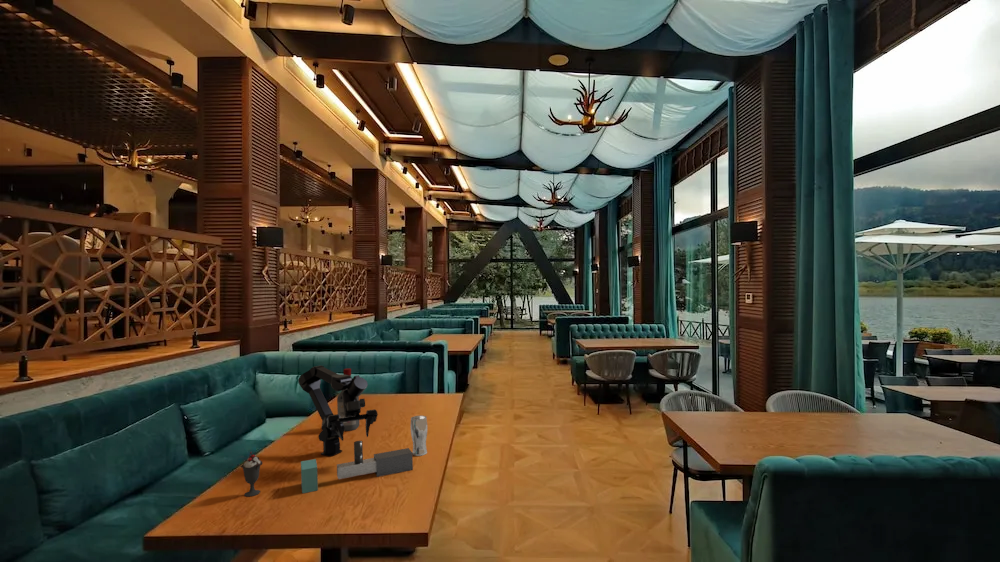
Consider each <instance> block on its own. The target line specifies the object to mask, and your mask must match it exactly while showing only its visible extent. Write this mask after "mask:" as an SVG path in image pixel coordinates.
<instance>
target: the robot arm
mask: <svg viewBox="0 0 1000 562" xmlns="http://www.w3.org/2000/svg"><path fill="white" fill-rule="evenodd" d="M321 380H322V381H324V382H326V383H328V384H330V385H331V386H330V387H331V388H332V390H334V391H335V392H341V391H342V390H345V391H344V392H343V393H342V395H341V397H340V399H343V408H344V415H345V417H340V416H339V415H338V413H337V414H334V413H333V411H332V409H331V407H330V405H329V403H328V401H327V399H326V398H325V396H324V393H323V391H322V389H321V383H322V381H321ZM298 384H299V386H300V388H301V389H302V390H303V391H304V392H305V393H307V394H309V397H310V398H311V401H312V403H313V405H314V407H315V409H316V410H317V414H318V415H319V416H320V418H321V426H320V427H321V431H320V433H319V434H318V440H319V441H320V442H322V444H323V446H322V448H323V449H322V450H323V452H321V453H320V455H322V456H327V457H333V456H336V455H338V454H340V453H342V452H343V449H341V442H340V440H341V441H342V442H343V441H344V433H345V431H344V428H345V427H344V424H343V422H348V421H355V420H359V421H362V420H364V421H365V436H366V438H368V437H369V432H370V428H371V425H373V424H374V423H375V422H377V419H378V415H379V414H378V411H377V410H376V409H368V410H366V412H365V413H363V414H360V413H361V411H362V410H361V409H362V408H365V406H366V400H365V398H359V401H358V400H357V397H358V396H359V397H360V396H361V395H362V393H364V391H365V390H366V389H367V388H368V386H369V385H368V381H367V380H366V379H365V378H363V377H361V376H360V375H358V374H357V375H354V376H353V377H352V375H351V376H349V375H344V373H342V374H339V373H337V372H334V371H333V370H330V369H328V368H326V367H325V366H324V365H316V366H312V367H311V368H309V370H307V371H305V372H304V373H302V374H301V375H300V376H299V378H298Z"/></svg>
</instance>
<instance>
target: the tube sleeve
mask: <svg viewBox="0 0 1000 562" xmlns="http://www.w3.org/2000/svg"><path fill="white" fill-rule="evenodd" d="M412 453H413V451H412V450H411V449H410V448H409V447H407V448H402V449H396V450H395V449H394V450H391V451H384V452H378V453H374V454H373V458H375V459H376V467H377V472H374V473H375V475H376V478H378V477H384V476H388V475H394V474H400V473H404V472H409V471H414V462H413V461H414V460H413V454H412Z"/></svg>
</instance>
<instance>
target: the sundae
mask: <svg viewBox="0 0 1000 562" xmlns="http://www.w3.org/2000/svg"><path fill="white" fill-rule="evenodd" d="M252 452H253V451H250V452H249V456H248V457H247V460H246V461H245V462H244V463H243V464H242V465H241V466H240V468H241V469H242V471H243V476H244V480H245V482H246V483H247V484H249V490H248V491H247V492H245V493H244V494H243V496H244V497H247V498H248V497H249V498H250V496H251V497H254V496H255V497H256V496H257V495H259V494H260V493H261V490H259V489H255V484H256V483H257V481H258V480H259V477H260V469H261V466H262V465H263V460H260V457H258V456H257V455H255V454H252Z"/></svg>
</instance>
